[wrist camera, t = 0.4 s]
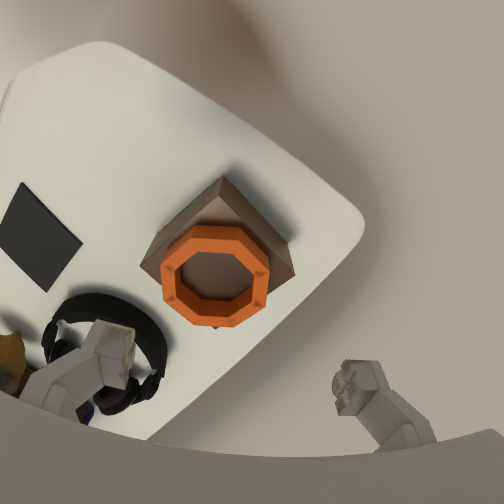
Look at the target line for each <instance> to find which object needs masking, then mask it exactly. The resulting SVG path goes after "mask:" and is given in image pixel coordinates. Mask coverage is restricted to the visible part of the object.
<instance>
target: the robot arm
mask: <svg viewBox="0 0 504 504" xmlns="http://www.w3.org/2000/svg"><path fill="white" fill-rule="evenodd" d="M134 338H135V329H133V328H129V327H125V326H121V325H117V324H114V323H110V322H106V321H102V320H98V319H97V320H96V321H95V322H94V323H93V325H92V327H91V329H90V331H89V333H88V335H87V337H86V339H85V341H84V343H83V345H82V347H81V349H79V348H76V349H75V350H73V351H71V352H69V353H68V354H66V355H64V356H62V357H60V358H59V359H57V360H55V361H53V362H52V363H50V364H48V365H46V366H45V367H43V368H41V369H39V370H38V371H36V372H34V373H32V374H31V376H30V377H29V379H28V381H27V383H26V385H25V387H24V389H23V391H22V393H21V395H20V397H19V399H17V398H15V397H13V396H11V395H9V394H6V393H4V392H2V391H0V504H504V437H503V436H502V435H501V434H499V433H498V432H496V431H495V430H493V429H486V430H483V431H480V432H476V433H473V434H469V435H465V436H462V437H458V438H454V439H450V440H445V441H441V442H437V440H436V438H435V435H434V433H433V430H432V428H431V425H430V423H429V421H428V420H427V419H426V418H425V417H424V416H423V415H421V414H420V413H419V412H418V411H417V410H416V409H415V408H414V407H412V406H411V405H410V404H409V403H408V402H407V401H406V400H404V399H403V398H402V397H401V396H400V395H399V394H398V393H396V392H395V391H394V390H391V389H390V387H389V385H388V382H387V379H386V377H385V374H384V372H383V369H382V367H381V364H380V363H379V362H378V361H366V360H345V361H343V363H342V364H341V369H342V370H340V371H338V372H337V373H336V374H335V376H334V378H333V382H332V391H333V394H334V395H335V396H336V397H337V398H338V399H337V400H336V402H335V404H336V408H337V412H338V415H339V416H356V417H357V419H358V420H359V421H360V422H361V423H362V425H363V426H364V427H365V428H366V429H367V431H368V432H369V433H370V434H371V435H372V437H373V438H374V439H375V440H376V442H377V443H378V444H379V445H380V447H379V448H378V449H377V450H375V452H373V453H368V454H359V455H346V456H330V457H264V456H263V457H262V456H246V455H233V454H223V453H214V452H206V451H198V450H192V449H185V448H179V447H173V446H168V445H162V444H157V443H153V442H148V441H143V440H139V439H135V438H130V437H126V436H122V435H119V434H115V433H111V432H108V431H104V430H101V429H97V428H94V427H91V426H87V425H84V424H81V423H80V421H79V419H78V417H77V414H76V412H75V410H76V409H77V408H78V407H79V406H80V405H82V404H83V403H84V402H85V401H87V400H88V399H89V398H90V397H91V396H93V395H94V394H95V393H96V392H97V391H99V390H100V389H101V388H102V387H103V386H104V385H106V386H110V387H114V388H118V389H122V390H125V388H126V385H127V382H128V379H129V369H131V368H132V366H133V362H134V358H135V350H136V346H135V343H134V342H133V341H134Z"/></svg>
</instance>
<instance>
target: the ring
mask: <svg viewBox="0 0 504 504" xmlns="http://www.w3.org/2000/svg"><path fill="white" fill-rule="evenodd" d="M196 252H211V253H228V254H233V255H234V256H235V257H236V258H237V259H238V260H239V261H240V262H241V263H242V264H243V265H244V266H245V267H246V268H247V269H248V270H249V271H250V272H251V273H252V283H251V287H249V288H248V289H246V290H245V291H244V292H242V293H241V294H239V295H238V296H236V297H235V298H234V299H232V300H231V301H219V300H203V299H200V298H199V297H198V296H197V295H196V294H194V293H193V292H192V291H191V290H190V289H189V288H187V287H186V286H185V285H184V284H183V283H182V282H181V277H180V266H181V265H182V264H183V263H184V262H186V261H187V260H188V259H189V258H190V257H192V256H193V255H194V254H195V253H196ZM160 270H161V281H162V291H163V300H164V301H165V302H166V303H167V304H168V305H170V306H171V307H172V308H173V309H174V310H176V311H177V312H178V313H179V314H181V315H182V316H183V317H184V318H186V319H187V320H188V321H190V322H191V323H192V324H193V325H202V326H217V327H235V326H237V325H238V324H240V323H241V322H243V321H244V320H246V319H248V318H249V317H251V316H252V315H254V314H255V313H257V312H258V311H260V310H261V309H263V308H264V307H265V306H266V298H267V290H268V283H269V275H270V268H269V260H268V256H267V255H266V254H265V253H264V252H263V251H262V250H261V249H260V248H259V247H258V246H257V245H256V244H255V243H254V242H253V241H252V240H251V239H250V238H249V237H248V236H247V234H246V233H245V232H244V231H243V230H242V229H241V228H239V227H225V226H206V225H194V226H193V227H192V228H191V229H190V230H189V231H187V232H186V233H185V234H184V235H183V236H182V237H181V238H180V239H178V240H177V241H176V242H175V243H174V244H173V245H172V246H171V247H170V248H168V249H167V250H166V252H165V254H164V257H163V259H162V261H161V264H160Z"/></svg>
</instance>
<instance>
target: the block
mask: <svg viewBox="0 0 504 504" xmlns="http://www.w3.org/2000/svg"><path fill="white" fill-rule="evenodd" d="M194 225H206V226H225V227H239V228H241V229H242V230H243V231H244V232H245V233H246V234H247V236H248V237H249V238H250V239H251V240H252V241H253V242H254V243H255V244H256V245H257V246H258V247H259V248H260V249H261V250H262V251H263V252H264V253H265V254H266V255H267V256H268V260H269V268H270V275H269V283H268V290H267V295H268V294H269V293H271V292H272V291H273V290H275V289H276V288H278V287H279V286H281V285H282V284H284V283H285V282H287V281H288V280H289V279H291V278H292V277H294V276H295V272H294V268H293V264H292V260H291V256H290V252H289V248H288V244H287V243H286V242H285V241H284V240H283V238H282V237H281V236H280V235H279V234H278V233H277V232H276V231H275V230H274V229H273V227H272V226H271V225H270V224H269V223H268V222H267V221H266V220H265V219H264V218H263V217H262V216H261V214H260V213H259V212H258V211H257V210H256V209H255V208H254V207H253V206H252V205H251V204H250V203H249V201H248V200H247V199H246V198H245V197H244V196H243V195H242V194H241V193H240V192H239V191H238V190H237V189H236V188H235V187H234V185H233V184H232V183H231V182H230V181H229V180H228V179H227V178H226V177H225V176H224V175H222V176H221V177H220V178H219V179H218V180H216V181H215V182H214V183H213V184H212V185H211V186H210V187H208V188H207V189H206V190H205V191H204V192H203V193H202V194H201V195H199V196H198V197H197V198H196V199H195V200H194V201H193V202H192V203H191V204H189V205H188V206H187V207H186V208H185V209H184V210H183V211H182V212H181V213H180V214H178V215H177V216H176V217H175V218H174V219H173V220H172V221H171V222H170V223H169V224H168V225H167V226H166V227H165V228H163V229H162V230H161V231H160V232H159V233H158V234H157V235H156V236H155V238H154V239H153V241H152V243H151V245H150V247H149V249H148V251H147V253H146V254H145V256H144V258H143V260H142V262H141V264H140V267H141V268H142V269H143V270H144V271H145V272H147V273H148V274H149V275H150V276H151V277H152V278H153V279H155V280H156V281H157V282H158V283H159V284H160V285H162V281H161V270H160V264H161V261H162V259H163V257H164V254H165V252H166V250H167V249H168V248H170V247H171V246H172V245H173V244H174V243H175V242H176V241H177V240H178V239H180V238H181V237H182V236H183V235H184V234H185V233H186V232H187V231H189V230H190V229H191V228H192V227H193V226H194ZM180 277H181V282H182V283H183V284H184V285H185V286H186V287H187V288H189V289H190V290H191V291H192V292H193V293H194V294H196V295H197V296H198V297H199V298H200V299H203V300H219V301H231V300H232V299H234V298H235V297H236V296H238V295H239V294H241V293H242V292H244V291H245V290H246V289H248V288H249V287H251V283H252V273H251V272H250V271H249V270H248V269H247V268H246V267H245V266H244V265H243V264H242V263H241V262H240V261H239V260H238V259H237V258H236V257H235V256H234V255H233V254H228V253H211V252H196V253H195V254H194V255H193V256H192V257H190V258H189V259H188V260H187V261H186V262H184V263H183V264H182V265H181V266H180ZM212 327H213V328H214V329H217V328H218V327H217V326H212Z"/></svg>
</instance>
